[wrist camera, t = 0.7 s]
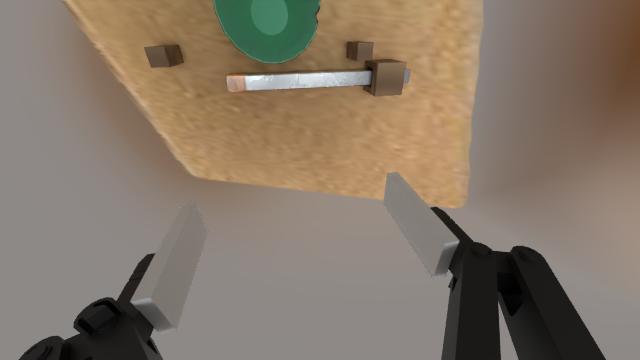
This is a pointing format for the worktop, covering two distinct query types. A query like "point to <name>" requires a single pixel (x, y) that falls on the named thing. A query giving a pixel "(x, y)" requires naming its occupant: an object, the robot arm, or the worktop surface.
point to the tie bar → (301, 79)
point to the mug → (269, 26)
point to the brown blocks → (384, 72)
